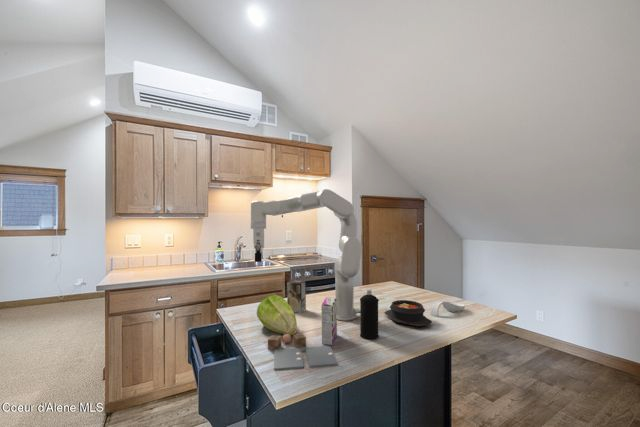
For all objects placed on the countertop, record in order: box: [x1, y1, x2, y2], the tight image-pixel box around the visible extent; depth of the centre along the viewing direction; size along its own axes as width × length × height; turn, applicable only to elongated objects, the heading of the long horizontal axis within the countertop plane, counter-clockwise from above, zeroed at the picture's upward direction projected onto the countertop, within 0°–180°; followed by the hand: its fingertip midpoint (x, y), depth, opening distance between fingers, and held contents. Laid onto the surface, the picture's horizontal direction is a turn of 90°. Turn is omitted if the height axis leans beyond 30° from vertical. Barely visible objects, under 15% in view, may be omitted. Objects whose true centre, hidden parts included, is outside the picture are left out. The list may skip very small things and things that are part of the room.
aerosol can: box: [359, 289, 380, 341], centre depth 123 cm, size 8×8×20 cm
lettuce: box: [256, 294, 298, 336], centre depth 130 cm, size 15×24×16 cm
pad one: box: [304, 345, 339, 368], centre depth 104 cm, size 10×14×1 cm
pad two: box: [273, 347, 305, 371], centre depth 103 cm, size 10×14×1 cm
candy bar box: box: [321, 296, 338, 346], centre depth 119 cm, size 11×5×16 cm, turn 168°
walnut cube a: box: [292, 332, 307, 349], centre depth 113 cm, size 4×4×4 cm
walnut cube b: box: [267, 335, 282, 351], centre depth 112 cm, size 4×4×4 cm
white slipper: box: [430, 299, 466, 318], centre depth 155 cm, size 24×12×7 cm, turn 124°
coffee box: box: [286, 279, 307, 314], centre depth 157 cm, size 9×6×16 cm
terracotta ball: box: [282, 334, 292, 344], centre depth 116 cm, size 4×4×4 cm
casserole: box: [383, 299, 433, 327], centre depth 142 cm, size 25×19×8 cm
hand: (258, 260), depth 139 cm, fingers open, 9 cm apart
